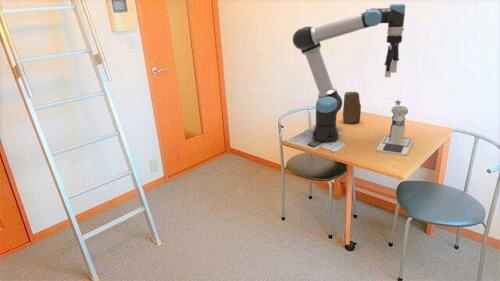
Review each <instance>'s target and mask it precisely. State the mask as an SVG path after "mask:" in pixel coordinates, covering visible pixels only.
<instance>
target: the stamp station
mask: <svg viewBox="0 0 500 281" xmlns="http://www.w3.org/2000/svg"><path fill="white" fill-rule="evenodd" d="M389 137H390V135H385V136H384V137H383V138H382V140H381V142H380V143H379V145H378V147H377V149H376V152H380V153H387V154H393V155H399V156H405V157H407V156H408V154H409V151H410V149H411V147H412V145H413V142H414V139H413V138H410V137H409V138H407V137H404V142H403V143H401V144H394V143H391V142H389Z"/></svg>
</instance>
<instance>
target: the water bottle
mask: <svg viewBox="0 0 500 281" xmlns="http://www.w3.org/2000/svg"><path fill="white" fill-rule="evenodd" d="M394 102H395V106H392V108H391V110H390V111H391V113H392V114H393V115H392V117H391V125H390V133H389V136H390V137H389V142H391V143H394V144H401V143H403V142H404V138H405V130H406V129H405V127H406V126H405V120H406V117H405V116H406V115H407V114H408V113H409V109H408V107H406V106H404V105H403V106H402V105H401V103H402V101H400V100H399V99H397V100H395V101H394Z"/></svg>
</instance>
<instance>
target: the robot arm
mask: <svg viewBox="0 0 500 281" xmlns="http://www.w3.org/2000/svg"><path fill="white" fill-rule="evenodd" d="M405 14H406V5H405V4H404V3H392V4H390V5H389V7H387V8H383V7H382V8H367V9H366V10H365V12H363V13H359V14H356V15H353V16H350V17H346V18H343V19H340V20H337V21H334V22H330V23H328V24H324V25H322V26H321V25H320V26H319V27H313V26H304V27H302V28H299V29H298V30H296V31H295V32H294V33H293V35H292V43H293V45H294V47H295V48H296V49H298V50H300V51H301V53H302V55H303V56H305V57H306V60H307V63H308V66H309V68H310V69H309V70H310V71H311V73H312V74H311V75H312V76H313V79H314V83H315V86H316V88H317V90H318V95H317V97H318V99H317V100H316V102H315V126H314V129H313V131H312V139H313V140H314V141H316V140H317V141H316V142H319V141H324V142H323V143H332V142H336V141H338V140H339V139H340V138H339V137H340V134H339V131H338V128H337V114H338V113H339V111H340V110H341V108H343V107H342V106H343V99H342V97H341V96H340V94H339V92H338V90H337V88H334V87H333V84H332V82H331V79H330V75H329V72H328V70H327V67H326V64H325V62H324V59H323V56H322V53H321V47H322V44H321V42H323V41H324V42H325V41H327V40H330V39H334V38H336V37H339V36H344V35H346V34H351V33H354V32H356V31H360V30H363V29H367V28H370V27H375V26H378V25H380V24H387V32H386V34H387V36H386V43H388V44H389V45H388V46H387V54H386V56H385V57H386V58H385V62H384V66H385V71H384V78H391V77H392V76H391V74H392V73H393V74H394V73H395V74H396V73H397V68H398V67H397V66H398V61H400V58H399V53H400V52H399V51H400V50H399V45H400V43H402V41H403V31H404V30H405V28H404V24H405V23H404V22H405Z"/></svg>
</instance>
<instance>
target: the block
mask: <svg viewBox="0 0 500 281" xmlns="http://www.w3.org/2000/svg"><path fill="white" fill-rule="evenodd" d="M342 106H343V107H342V121H343V123H345V124H348V125H349V124H351V125H352V124H359V123H360V121H361V115H362V114H361V113H362V112H361V110H362V107H361V106H362V105H361V102H360V94H359V92H357V91H346V92H345V93H344V99H343V105H342Z"/></svg>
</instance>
